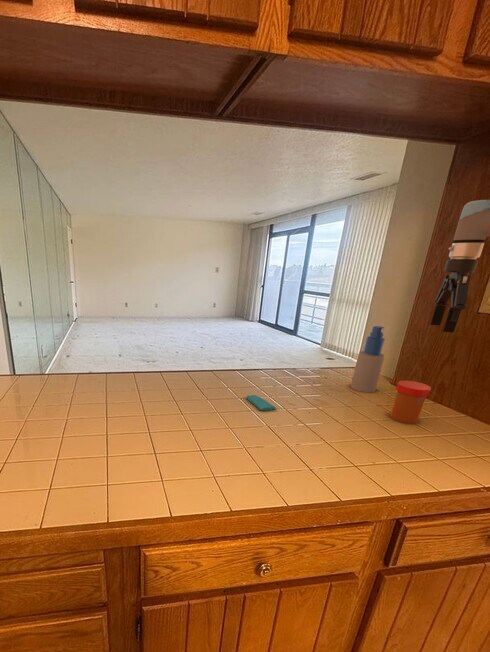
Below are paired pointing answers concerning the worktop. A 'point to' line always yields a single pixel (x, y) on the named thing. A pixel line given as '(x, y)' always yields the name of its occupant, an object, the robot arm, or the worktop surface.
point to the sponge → (260, 402)
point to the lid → (413, 388)
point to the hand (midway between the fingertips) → (441, 328)
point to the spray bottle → (369, 362)
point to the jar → (407, 408)
